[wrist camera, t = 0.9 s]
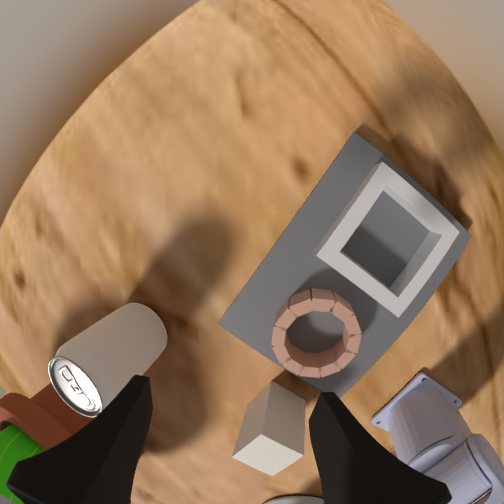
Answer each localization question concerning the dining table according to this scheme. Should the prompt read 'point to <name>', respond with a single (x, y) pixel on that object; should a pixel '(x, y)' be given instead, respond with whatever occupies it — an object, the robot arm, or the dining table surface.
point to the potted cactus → (33, 429)
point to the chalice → (296, 500)
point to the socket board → (347, 271)
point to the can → (107, 357)
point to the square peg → (272, 430)
